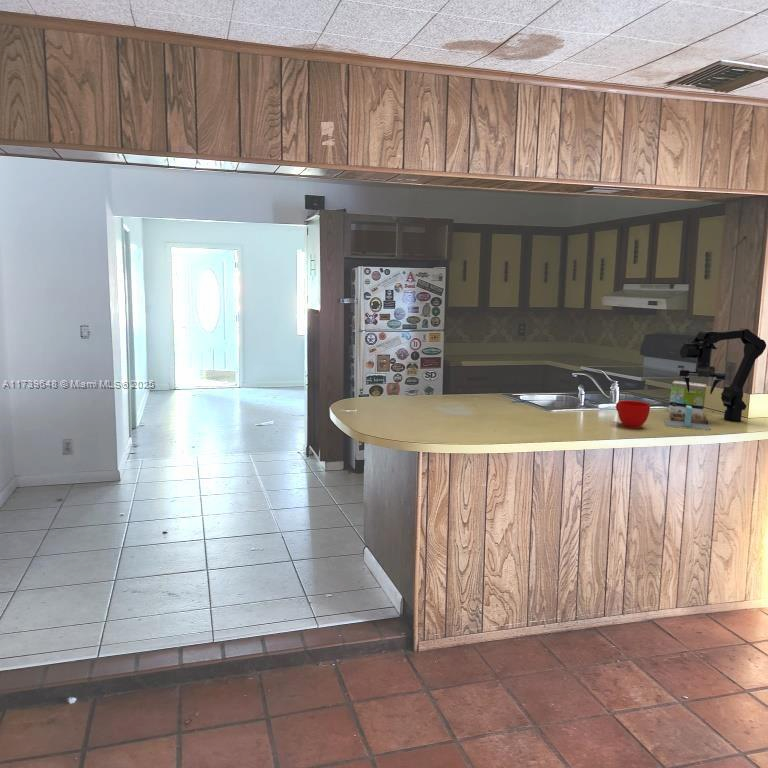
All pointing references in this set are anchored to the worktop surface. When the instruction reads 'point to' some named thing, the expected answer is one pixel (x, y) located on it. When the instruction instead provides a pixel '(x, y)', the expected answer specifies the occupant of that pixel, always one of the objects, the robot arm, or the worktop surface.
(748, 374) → the robot arm
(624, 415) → the ceramic cup
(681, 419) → the tray
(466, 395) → the worktop surface
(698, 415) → the offcut upper
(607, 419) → the worktop surface
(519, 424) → the worktop surface
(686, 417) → the teal flat block
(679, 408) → the tea box
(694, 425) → the mat
